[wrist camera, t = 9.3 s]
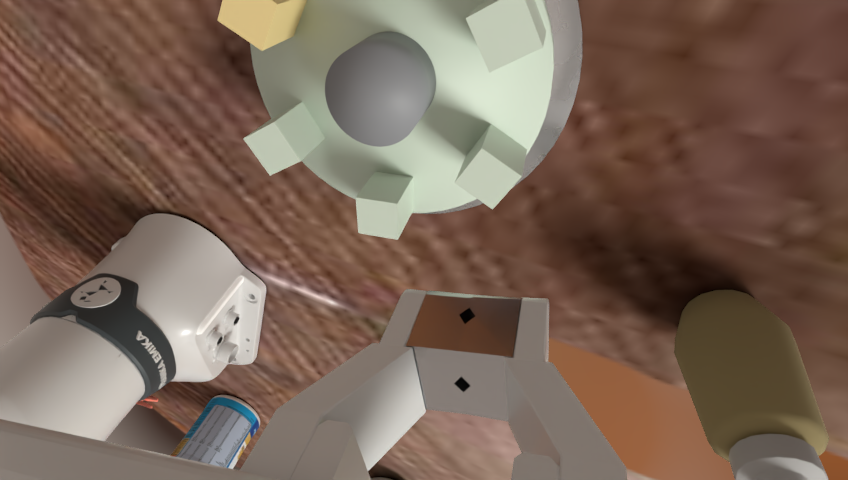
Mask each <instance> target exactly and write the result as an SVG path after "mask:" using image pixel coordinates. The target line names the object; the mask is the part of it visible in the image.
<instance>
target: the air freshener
mask: <svg viewBox="0 0 848 480" xmlns="http://www.w3.org/2000/svg"><path fill="white" fill-rule="evenodd" d="M370 479H371V480H393V479H390V478H384V477H375V478H370Z"/></svg>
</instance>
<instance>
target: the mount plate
mask: <svg viewBox="0 0 848 480" xmlns="http://www.w3.org/2000/svg"><path fill="white" fill-rule="evenodd" d="M545 2H546V6H547V9H548V13H549V16H550V20H551V27H552V33H553V40H554V70H553V79H552V88H551V96H550V100H549V104H548V108H547V112H546V116H545V119H544V122H543V124H542V127H541V129H540V132H539V134H538V136H537V138H536V140H535V142H534V143H533V145H532V147H531V149H530V150H529V152H528V154H527V155H526V158H525V163H524V169H523V174H522V177H521V178H520V179H519V181H518V182H517V183H516V184H515V185H517V184H518V183H519V182H520V181H522V180H523V179H524V178H525V177H527V176H528V175H529V174H530V173H531V172H532V171H533V170H534V169H535V168H536V167H537V166H538V165H539V164H540V163H541V161H542V160H543V159H544V157H545V156H546V155H547V153H548V152H549V151H550V149H551V148H552V147H553V145H554V144H555V142H556V140H557V139H558V137H559V135H560V133H561V131H562V130H563V128H564V126H565V124H566V121H567V119H568V116H569V114H570V111H571V109H572V106H573V104H574V100H575V96H576V92H577V88H578V84H579V79H580V71H581V62H582V25H581V18H580V12H579V5H578V0H545ZM515 185H514V186H515ZM514 186H513V187H514ZM513 187H512V188H513ZM482 203H483V202H481V201H480V200H478V199H476V200H474V201H471V202H469V203H466V204H464V205H461V206H459V207H455V208H451V209H447V210H444V211H436V212H429V213H421V214H434V213H447V212H453V211H460V210H464V209H467V208H471V207H474V206H478V205H480V204H482Z"/></svg>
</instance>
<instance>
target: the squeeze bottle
mask: <svg viewBox="0 0 848 480" xmlns="http://www.w3.org/2000/svg"><path fill="white" fill-rule="evenodd" d="M674 353H675V356H676V358H677V361H678V364H679V366H680V369H681V372H682V374H683V377H684V379H685V382H686V385H687V387H688V390H689V392H690V395H691V398H692V400H693V403H694V405H695V408H696V411H697V413H698V416H699V419H700V421H701V424H702V426H703V429H704V431H705V434H706V437H707V440H708V442H709V444H710V445H711V447H712V448H713V450H714V452H715V453H716V454H718V455H720V456H721V457H723V458H724V459H726V460H727V461H729V462H730V464H731V467H732V471H733V474H734V478H735V480H828V477H827V475H826V472H825V470H824V468H823V466H822V463H821V461H820V459H819V457H818V456H819V455H820V454H822V453H823V452H824V451H825V449H826V446H827V443H828V441H829V437H828V434H827V431H826V428H825V425H824V422H823V419H822V417H821V414H820V411H819V408H818V405H817V402H816V399H815V396H814V393H813V391H812V388H811V385H810V382H809V379H808V376H807V373H806V370H805V367H804V365H803V362H802V359H801V356H800V353H799V350H798V347H797V344H796V341H795V339H794V337H793V334H792V332H791V330H790V328H789V326H788V325H787V324H785V323H784V322H783V321H782V320H781V319H779V318H778V317H777V316H776V315H774V314H773V313H772V312H771V311H769V310H768V309H767V308H766V307H764V306H763V305H762V304H761V303H759V302H758V301H757V300H755V299H754V298H753V297H751V296H750V295H748V294H747V293H743V292H739V291H735V290H714V291H711V292H707V293H703V294H700V295H699V296H697V297H696V298H694V299H693V300H691V301H689V302H688V304H687V305H686V307H685V308H684V309H683V311H682V314H681V318H680V322H679V326H678V330H677V333H676V337H675V349H674Z"/></svg>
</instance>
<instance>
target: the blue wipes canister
mask: <svg viewBox="0 0 848 480" xmlns="http://www.w3.org/2000/svg"><path fill="white" fill-rule="evenodd" d="M259 425H260V418H259V416H258V414H257V412H256V411H255V410H254V409H253V408H252V407H251V406H250V405H249V404H247V403H246V402H244V401H242V400H240V399H238V398H236V397H233V396H229V395H217V396H215V397H213V398H212V399H211V400H210V401H209V403H208V404H207V406H206V407H205V409H204V411H203V412H202V414H201V415H200V416H199V418H198V419H197V421H196V422H195V423H194V425H193V426H192V427H191V429H190V430H189V431H188V433H187V434H186V435H185V437H184V438H183V440H182V441H181V442H180V444H179V445H178V446H177V448H176V449H175V450H174V452H173V453H172V454H171V455H170V456H175V457H179V458H184V459H189V460H193V461H198V462H202V463H207V464H212V465H216V466H221V467H226V468H230V469H233V467H234V466H235V464H236V463H237V461H238V459H239V457H240V456H241V454H242V452H243V451H244V449H245V447H246V446H247V444H248V443H249V441H250V439H251V438H252V436H253V435H254V434H255V432H256V431H257V429H258V428H259Z"/></svg>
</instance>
